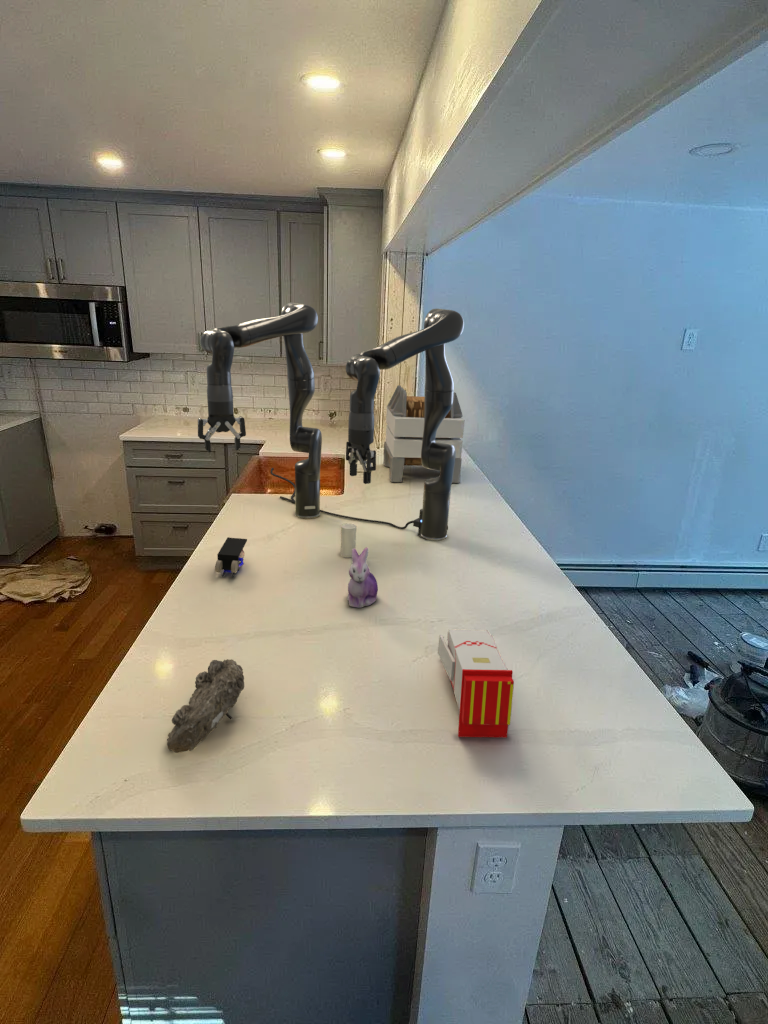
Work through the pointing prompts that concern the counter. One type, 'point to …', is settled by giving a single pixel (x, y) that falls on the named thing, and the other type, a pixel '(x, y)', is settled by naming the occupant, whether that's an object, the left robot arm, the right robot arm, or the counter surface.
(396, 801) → the counter surface
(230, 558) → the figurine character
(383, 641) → the counter surface
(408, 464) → the grey slatted box
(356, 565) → the figurine
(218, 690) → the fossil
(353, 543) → the canister
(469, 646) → the toy
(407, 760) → the counter surface
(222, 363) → the left robot arm
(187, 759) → the counter surface
